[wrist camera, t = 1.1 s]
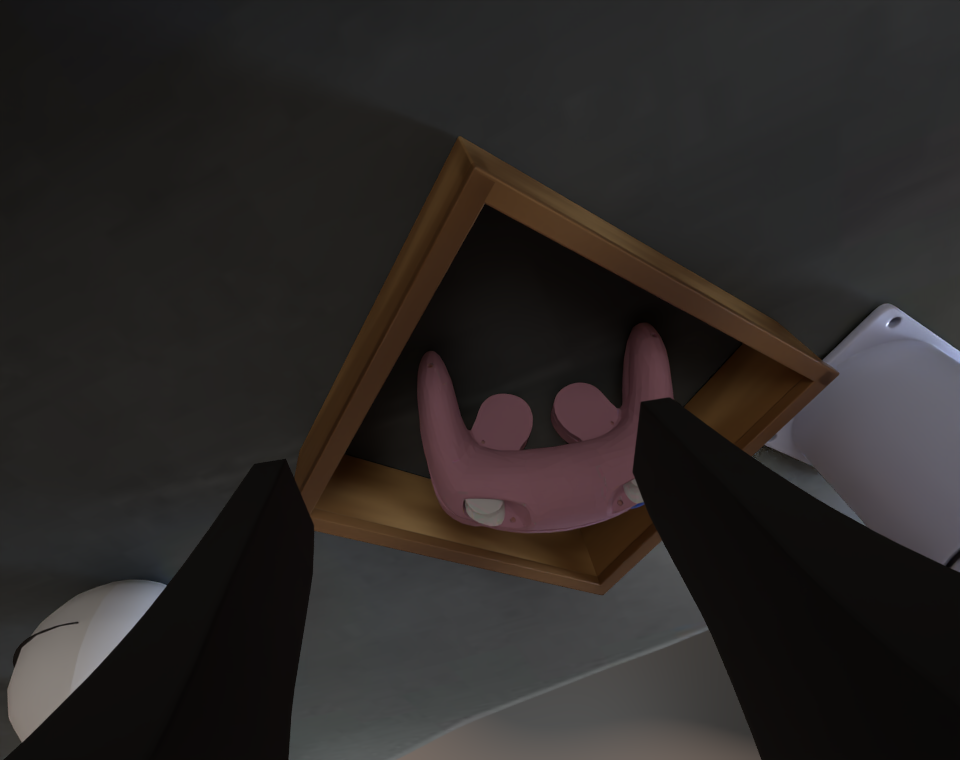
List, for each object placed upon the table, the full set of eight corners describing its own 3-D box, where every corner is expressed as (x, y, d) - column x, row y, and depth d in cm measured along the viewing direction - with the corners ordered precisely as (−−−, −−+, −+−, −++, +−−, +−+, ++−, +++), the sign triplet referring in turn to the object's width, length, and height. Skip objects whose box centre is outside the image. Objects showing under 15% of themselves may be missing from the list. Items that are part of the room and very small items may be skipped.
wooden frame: (778, 320, 22) (841, 373, 19) (579, 531, 29) (602, 596, 26) (458, 132, 16) (475, 166, 13) (297, 452, 23) (283, 524, 20)
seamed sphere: (144, 524, 24) (66, 697, 18) (256, 599, 28) (222, 759, 22) (-23, 605, 26) (-145, 789, 20) (107, 664, 30) (39, 830, 24)
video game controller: (419, 395, 24) (438, 557, 21) (407, 343, 20) (429, 534, 17) (633, 365, 25) (683, 517, 22) (664, 309, 21) (731, 486, 17)
